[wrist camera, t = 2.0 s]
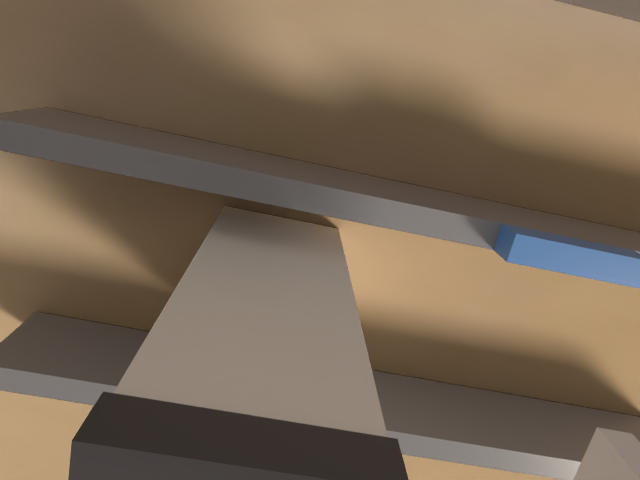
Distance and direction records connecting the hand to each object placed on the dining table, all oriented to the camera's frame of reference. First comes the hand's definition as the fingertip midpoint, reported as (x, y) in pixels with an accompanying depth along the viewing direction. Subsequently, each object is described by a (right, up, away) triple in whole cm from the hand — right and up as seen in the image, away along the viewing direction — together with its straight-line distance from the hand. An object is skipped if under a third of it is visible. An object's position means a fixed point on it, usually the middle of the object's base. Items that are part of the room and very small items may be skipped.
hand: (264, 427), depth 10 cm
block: (-1, +3, +8) cm, 9 cm away
